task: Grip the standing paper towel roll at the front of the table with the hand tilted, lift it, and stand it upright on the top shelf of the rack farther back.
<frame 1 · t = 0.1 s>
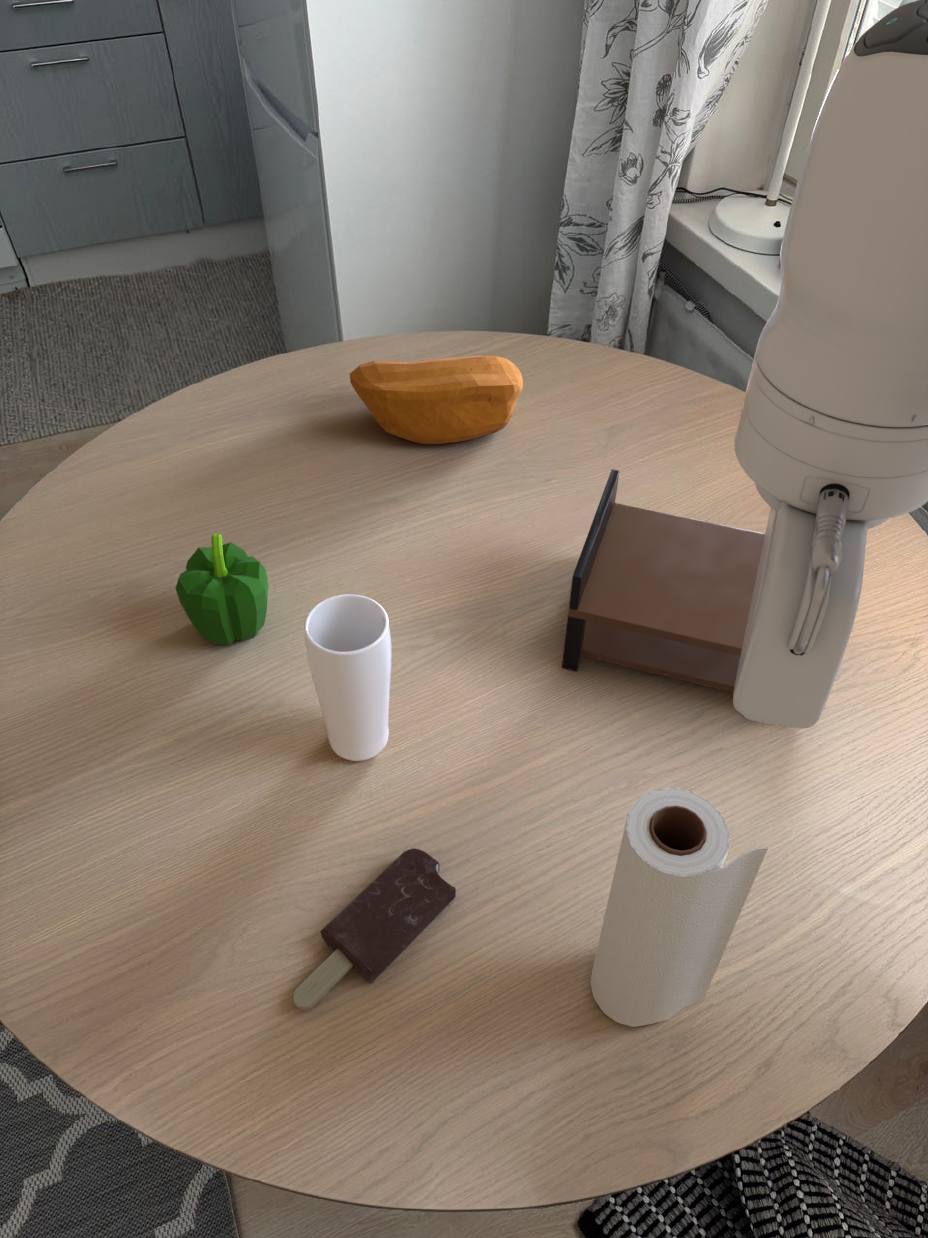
hand: (771, 646, 53), 32 cm above the table, tool pointing down, fingers open, 8 cm apart
paper towel roll: (636, 994, 73), on the table
bell pepper: (234, 627, 98), on the table
bread: (434, 419, 123), on the table
rack: (690, 636, 98), on the table
ice cream bar: (371, 938, 76), on the table
drinking glass: (359, 741, 89), on the table
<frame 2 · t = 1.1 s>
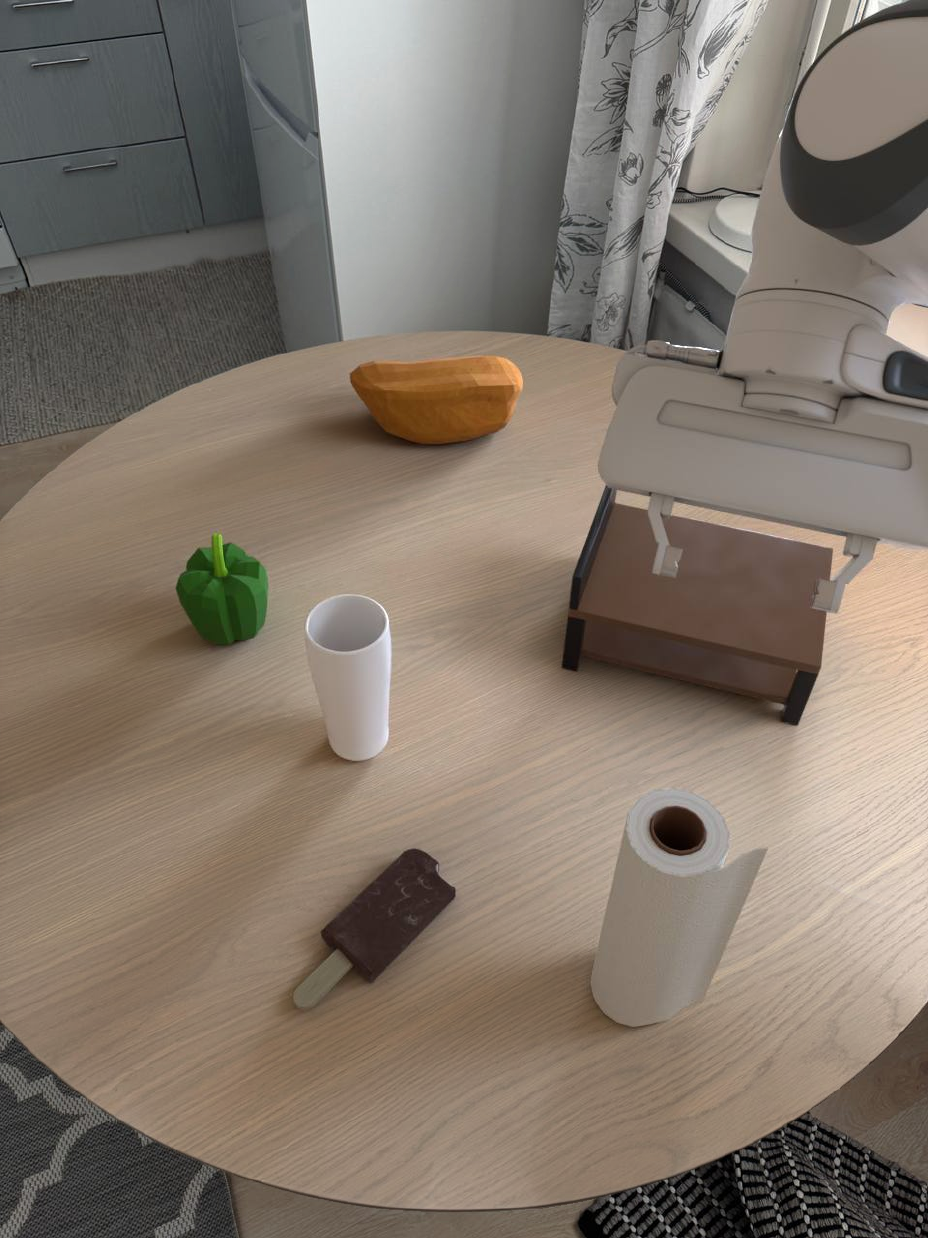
hand: (742, 593, 59), 30 cm above the table, tool tilted 45°, fingers open, 8 cm apart
nothing on the table moved.
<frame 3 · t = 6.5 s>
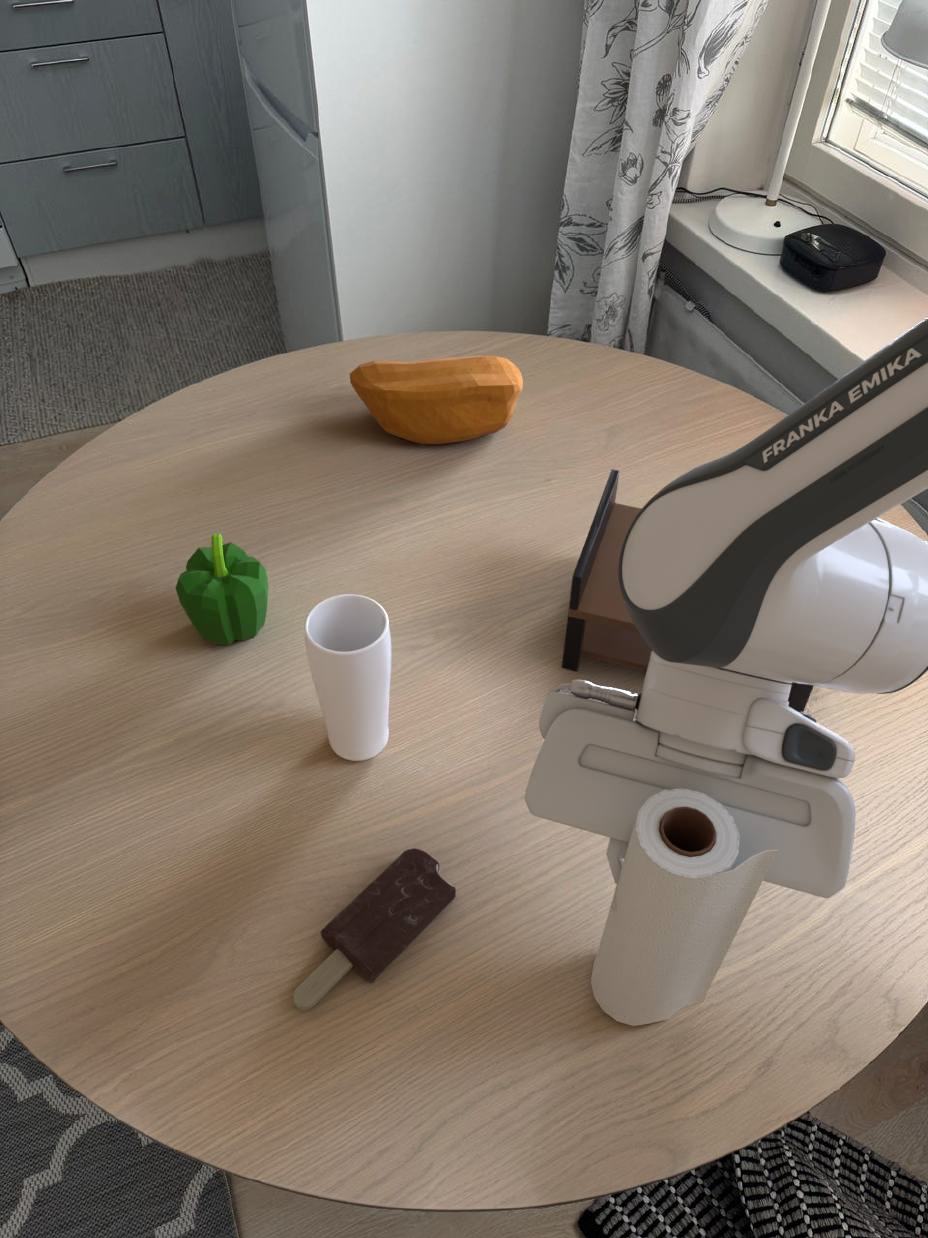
hand: (658, 921, 64), 12 cm above the table, tool tilted 45°, fingers closed on paper towel roll, 3 cm apart
paper towel roll: (636, 993, 73), on the table, touching gripper
everything else where it was.
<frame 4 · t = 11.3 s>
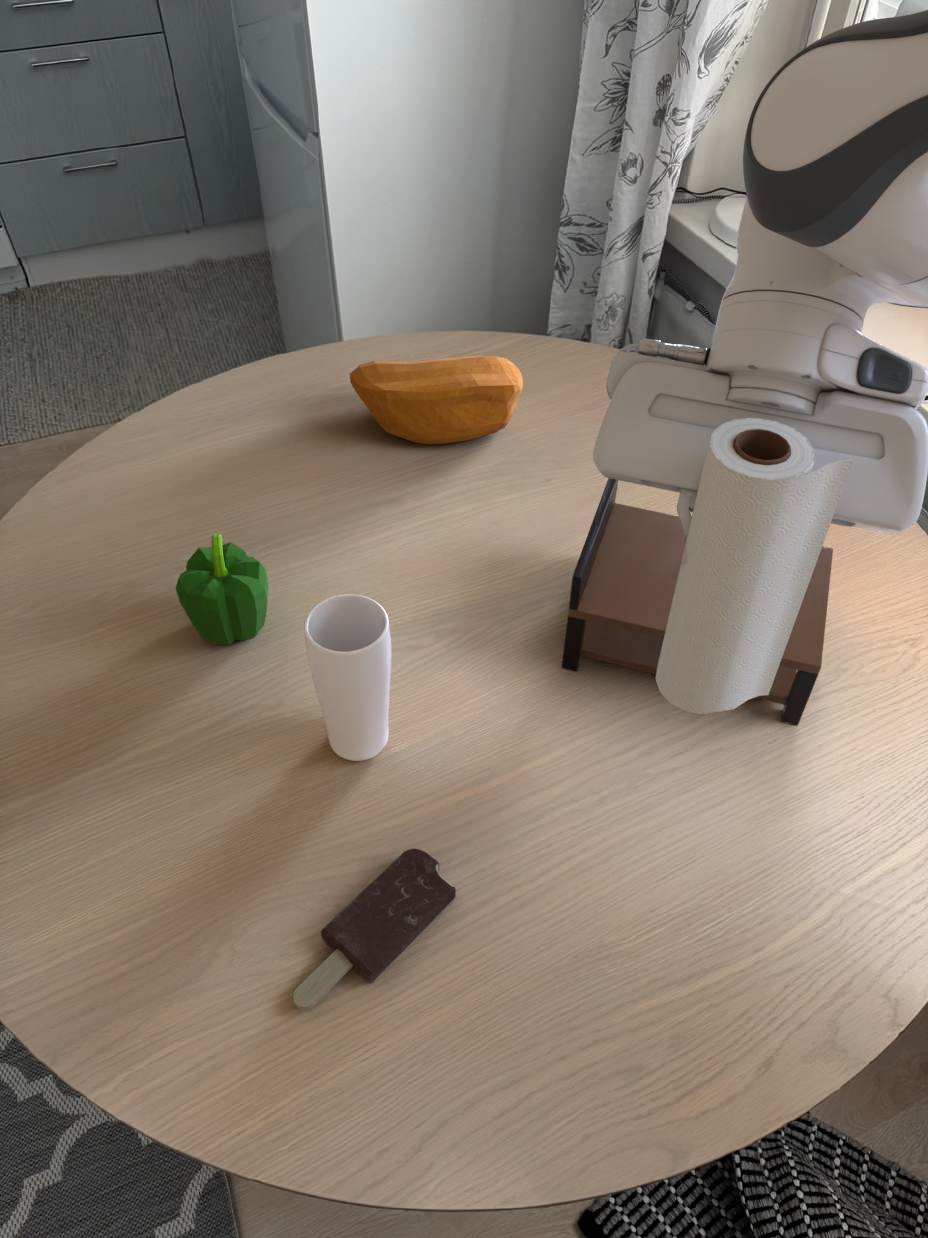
hand: (727, 574, 64), 28 cm above the table, tool tilted 45°, fingers closed on paper towel roll, 3 cm apart
paper towel roll: (701, 690, 73), point 15 cm above the table, touching gripper
everything else where it was.
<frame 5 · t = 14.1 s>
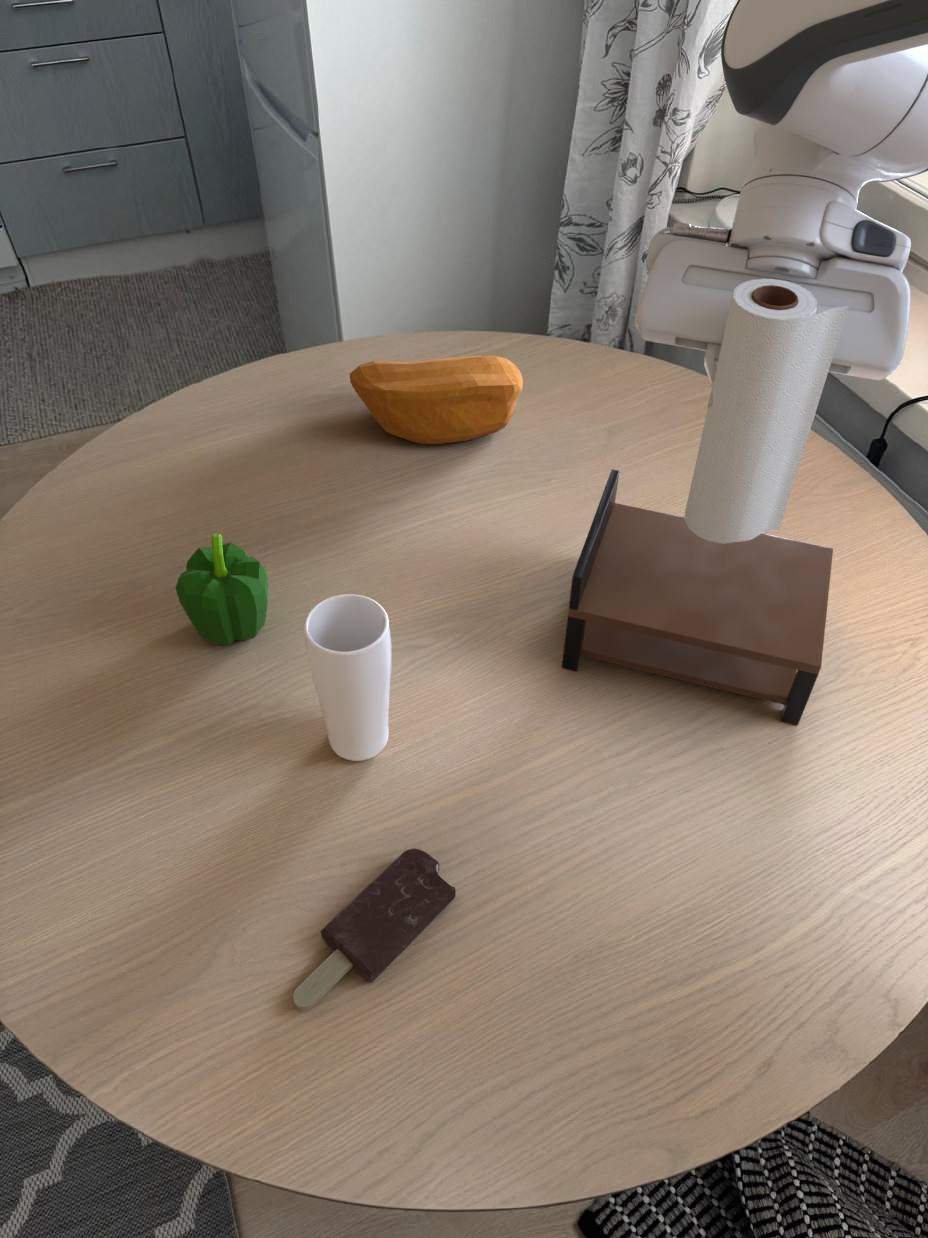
hand: (746, 413, 78), 27 cm above the table, tool tilted 45°, fingers closed on paper towel roll, 3 cm apart
paper towel roll: (723, 527, 87), point 15 cm above the table, touching gripper
everything else where it was.
when the fingers open (20 cm above the table, at t = 16.3 s): paper towel roll stays where it is, resting on rack.
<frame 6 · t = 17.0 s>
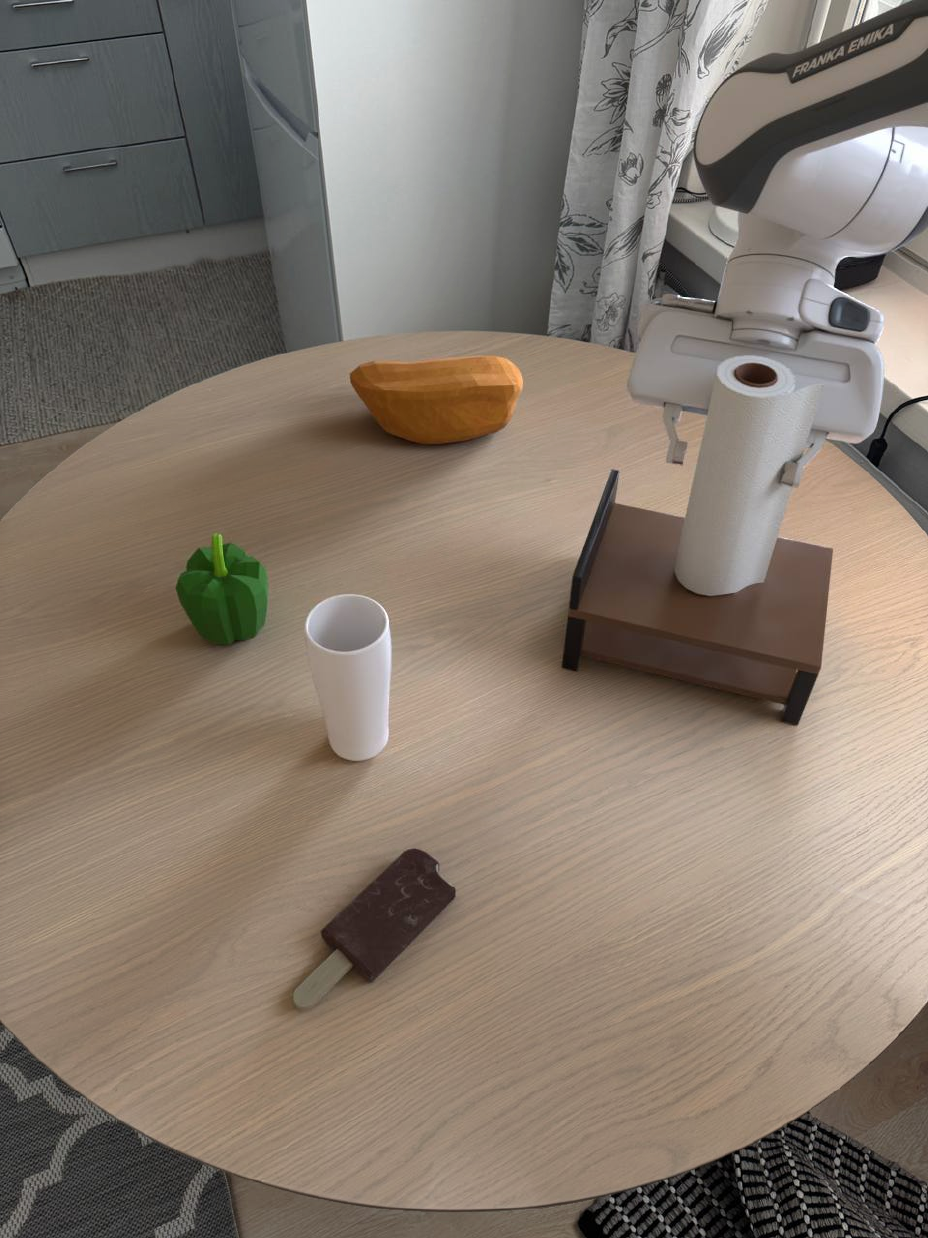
hand: (730, 474, 83), 20 cm above the table, tool tilted 45°, fingers open, 8 cm apart
paper towel roll: (710, 580, 92), point 8 cm above the table, touching rack
everything else where it was.
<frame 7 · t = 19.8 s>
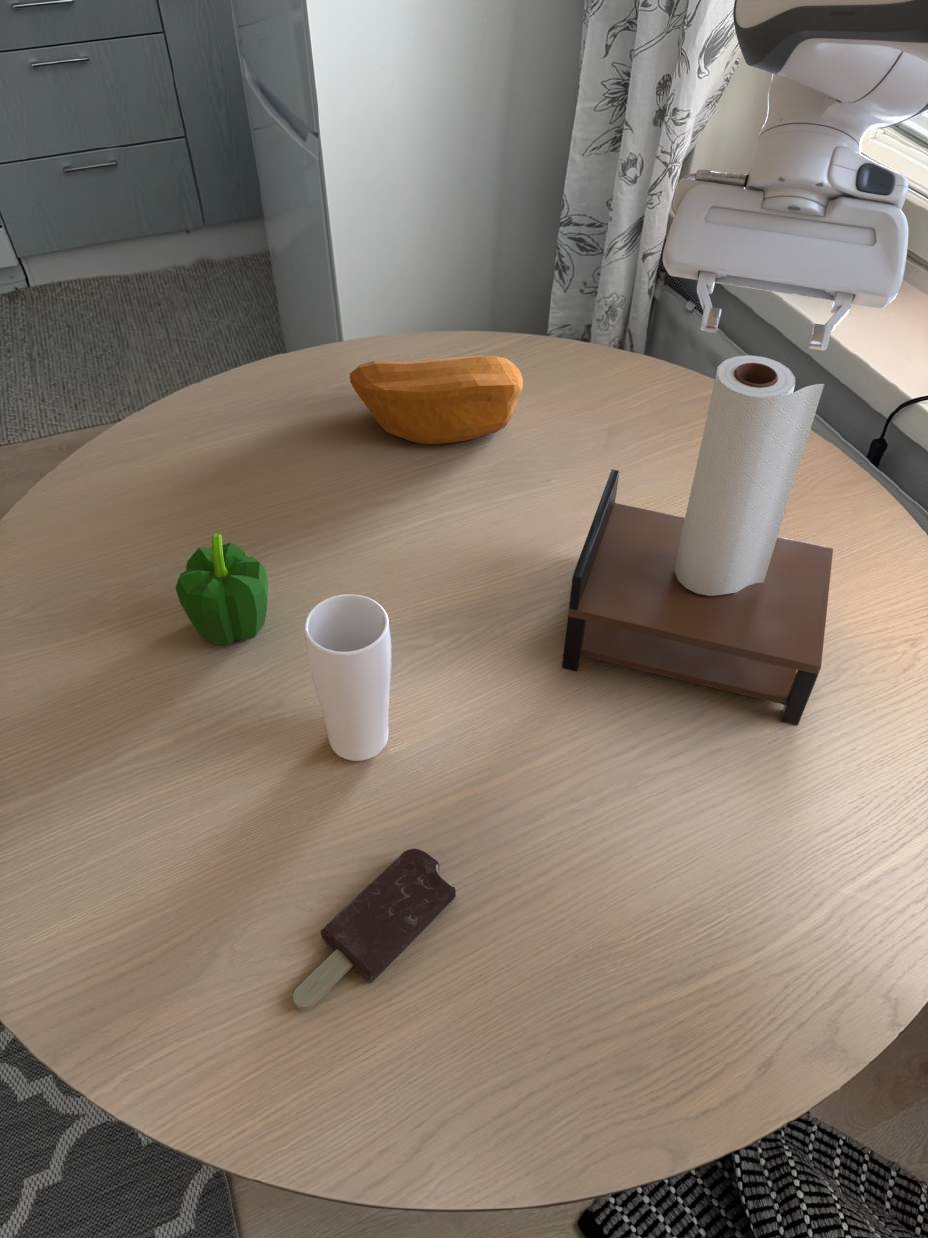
hand: (762, 338, 87), 26 cm above the table, tool tilted 45°, fingers open, 8 cm apart
nothing on the table moved.
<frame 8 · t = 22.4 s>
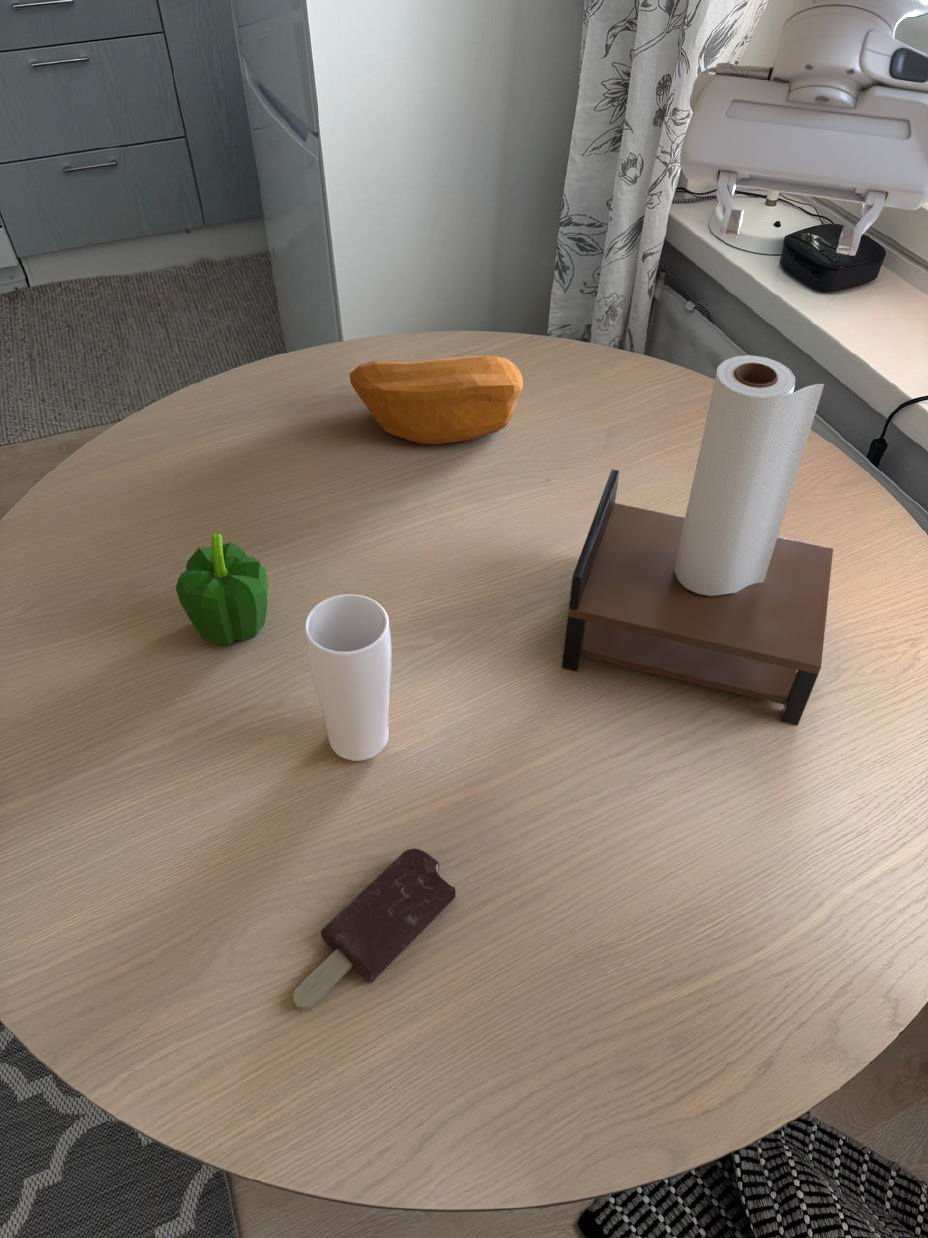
hand: (786, 243, 81), 34 cm above the table, tool tilted 45°, fingers open, 8 cm apart
nothing on the table moved.
at the end: paper towel roll inside the target area on the rack (0.5 cm from its centre), point 7.8 cm above the rack's base; paper towel roll tilted 0°; the gripper is holding nothing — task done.
